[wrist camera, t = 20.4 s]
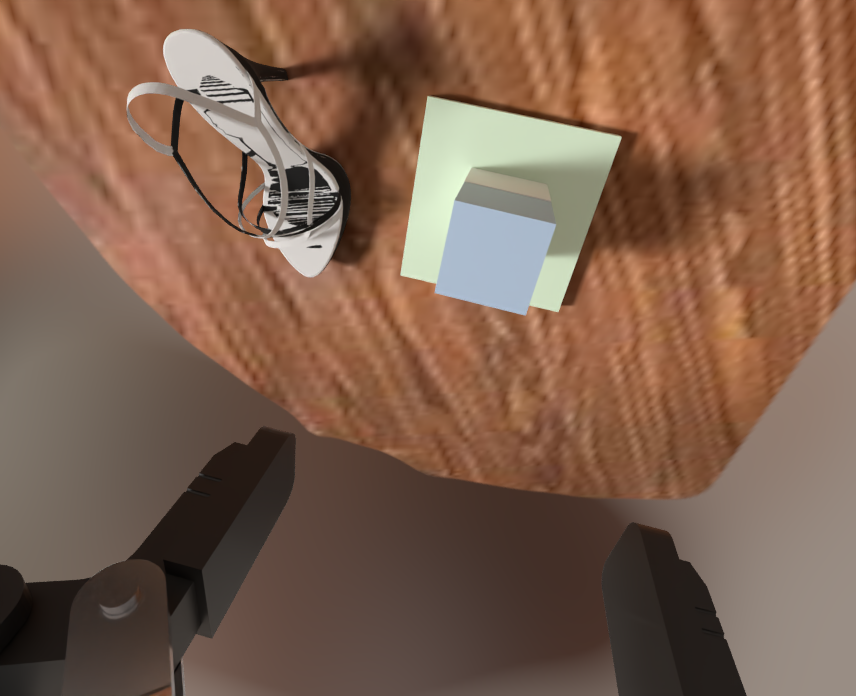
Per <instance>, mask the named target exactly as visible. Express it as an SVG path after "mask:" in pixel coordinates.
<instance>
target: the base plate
mask: <svg viewBox="0 0 856 696" xmlns="http://www.w3.org/2000/svg"><path fill="white" fill-rule="evenodd" d="M621 138H622V137H621V136H620V135H617V134H612V133H607V132H602V131H598V130H593V129H588V128H583V127H578V126H574V125H569V124H564V123H559V122H555V121H550V120H545V119H540V118H535V117H531V116H526V115H521V114H516V113H511V112H507V111H502V110H497V109H492V108H488V107H483V106H478V105H473V104H468V103H464V102H459V101H454V100H449V99H445V98H440V97H435V96H428V97H427V104H426V110H425V117H424V124H423V130H422V137H421V143H420V150H419V157H418V163H417V170H416V176H415V183H414V190H413V196H412V203H411V209H410V216H409V223H408V229H407V236H406V242H405V249H404V255H403V262H402V269H401V276H406V277H410V278H414V279H419V280H423V281H427V282H431V283H436V284H437V280H438V275H439V270H440V266H441V261H442V256H443V252H444V247H445V242H446V238H447V233H448V228H449V223H450V219H451V214H452V209H453V205H454V200H455V198H456V196H457V195H458V193H459V191H460V189H461V187H462V185H463V184H464V181H465V179H466V177H467V175H468V173H469V171H470V170H471V168H476V169H481V170H485V171H490V172H494V173H499V174H504V175H508V176H513V177H517V178H522V179H526V180H531V181H535V182H540V183H544V184H547V185H548V189H549V194H550V198H551V203H552V208H553V212H554V216H555V221H556V227H555V230H554V233H553V236H552V239H551V242H550V245H549V248H548V251H547V254H546V256H545V259H544V262H543V265H542V268H541V271H540V274H539V277H538V280H537V283H536V286H535V289H534V292H533V295H532V298H531V301H530V304H529V305H530V306H534V307H539V308H543V309H547V310H551V311H556V312H559V309H560V306H561V303H562V301H563V298H564V295H565V292H566V290H567V287H568V284H569V281H570V279H571V276H572V273H573V270H574V268H575V265H576V262H577V259H578V257H579V254H580V251H581V248H582V246H583V243H584V240H585V237H586V234H587V232H588V229H589V226H590V223H591V221H592V218H593V215H594V212H595V210H596V207H597V204H598V201H599V199H600V196H601V193H602V190H603V188H604V185H605V182H606V179H607V177H608V174H609V171H610V168H611V166H612V163H613V160H614V157H615V155H616V152H617V149H618V146H619V144H620V141H621Z"/></svg>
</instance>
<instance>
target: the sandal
mask: <svg viewBox="0 0 856 696" xmlns="http://www.w3.org/2000/svg"><path fill="white" fill-rule="evenodd" d="M163 53H164V58H165V62H166V65H167V67H168V69H169V72H170V74H171V76H172V78H173V79H174V81H175V83H176V84H177V86H178V87H176V86H172V85H169V84H164V83H156V82H149V83H143V84H140V85H137V86H136V87H134V88H133V89H132V90H131V91H130V93H129V95H128V99H127V117H128V120H129V123H130V125H131V127H132V129H133V130H134V131H135V132H136V133H137V134H138V135H139V136H140V137H141V138H142V139H143V141H144V142H145V143H147V144H148V145H149V146H151V147H152V148H153V149H155V150H156V151H157V152H160V153H163V154H166V155H168V156H173V157H174V158H175V160H176V161H177V163H178V164H179V166H180V168H181V169H182V171H183V172H184V174H185V175H186V177H187V178H188V180H189V181H190V183H191V184H192V186H193V187H194V189H195V190H196V191H197V193H198V194H199V195H200V197H201V198H202V199H203V200H204V201H205V202H206V204H207V205H208V206H209V207H210V208H211V210H212V211H213V212H215V213H216V214H217V215H218V216H219V217H220V218H222V219H223V220H224V221H225V222H226V223H227V224H229V225H230V226H232V227H233V228H235V229H236V230H238V231H240V232H242V233H245V234H248V235H250V236H252V237H256V236H258V237H256V238H263V239H264V241H265V243H266V245H267V246H269V247H273V248H279V249H280V250H281V252H282V253H283V255H284V256H285V258H286V259H287V260H288V261H289V263H290V264H291V265H292V266H293V267H294V268H295V269H296V270H297V271H299V272H300V273H301V274H303V275H304V276H306V277H315V276H317V275H319V274H320V273H321V272H322V271H323V270H324V269H325V268H326V266H327V265H328V263H329V262H330V260H331V258H332V257H333V255H334V253H335V251H336V249H337V247H338V245H339V242H340V240H341V237H342V235H343V232H344V229H345V226H346V222H347V219H348V215H349V210H350V203H351V189H350V183H349V180H348V177H347V174H346V172H345V170H344V169H343V167H342V166H341V165H340V164H339V163H338V162H337V161H336V160H334V159H333V158H331V157H329V156H327V155H325V154H321V153H318V152H314V151H312V150H310V149H308V148H307V147H305V146H304V145H302V144H301V143H300V142H299V141H298V140H297V139H296V138H295V137H294V136H293V135H292V134H291V133H290V132H289V131H288V130H287V128H286V127H285V126H284V124H283V123H282V122H281V120H280V119H279V117H278V116H277V114H276V112H275V111H274V109H273V107H272V105H271V103H270V101H269V99H268V97H267V94H266V91H265V88H264V87H263V85H262V84H261V82H264V81H284V80H288V77H287V72H286V71H285V70H284V69H283V68H277V67H271V66H267V65H262V64H259V63H256V62H253V61H251V60H248V59H246V58H245V57H243V56H242V55H240V54H239V53H238V52H236V51H235V50H234V49H232V48H230V47H229V46H227V45H225V44H223V43H222V42H220V41H219V40H218V39H216V38H215V37H213V36H211V35H209V34H208V33H205V32H203V31H200V30H194V29H180V30H177V31H174V32H172V33H171V34H169V35H168V37H167V38H166V40H165V42H164V47H163ZM147 93H156V94H164V95H168V96H172V97H176V100H175V104H174V110H173V121H172V136H171V146H166V145H164V144H161V143H159V142H157V141H155V140H154V139H153V138H152V137H150V136H149V135H148V134H147V133H146V132H145V131H144V130H143V129H142V128H141V127H140V126H139V125H138V124H137V123H136V122H135V120H134V119H133V117H132V116H131V114H130V112H129V108H128V105H129V103H130V101H131V100H132V99H133V98H135V97H137V96H139V95H142V94H147ZM184 100H185V101H187V102H189V103H190V104H191V105H192V106H193V107H194V108H195V109H196V110H197V112H198V113H199V114H200V115H201V116H202V117H203V118H204V119H205V120H206V121H207V122H208V123H209V124H211V125H212V126H213V127H214V128H215V129H216V130H217V131H218V132H220V133H221V134H222V135H223V136H224V137H226V138H227V139H228V140H229V141H231V142H232V143H233V144H234V145H236V146H237V147H238V148H240V149H241V150H242V172H241V182H240V189H239V195H238V208H239V214H238V222H239V225H240V227H241V229H242V230H241V229H240V228H238V227H236V226H235V225H233V224H232V223H231V222H229V221H228V220H227V219H226V218H225V217H223V216H222V215H221V214H220V213H219V212H218V211H217V210H216V209H215V208H214V207H213V206H212V205H211V203H210V202H209V201H208V200H207V199H206V197H205V196H204V195H203V193H202V192H201V190H200V189H199V187H198V185H197V184H196V182H195V181H194V179H193V177H192V176H191V174H190V172H189V170H188V169H187V167H186V165H185V163H184V162H183V160H182V158H181V156H180V155H179V153H178V137H179V125H180V116H181V110H182V105H183V102H184ZM247 156H250V157H251V158H252V159H253V160H254V161H256V162H257V163H258V165H259V166H260V167H261V168H262V170H263V172H264V176H265V182H264V183H263V184H261V185H260V186H259V187H258V188H257V189H256V190H254V191H253V192H252V193H251V194H250V195H249V196H248V198H247V199H246V200H245V201H244V203H243V204H242V198H243V193H244V188H245V181H246V174H247ZM262 189H264V195H263V205H262V207H261V209H260V210H259V213H258V216H257V225H258V226H256V225H254V224H252V223H250V222H249V221H248V220H247V219H246V218H245V216H244V214H243V210H244V209H245V207H246V205H247V204H248V203H249V201H250V200H251V199H252V198H253V197H254V196H255V195H256V194H258V193H259V192H260V191H261V190H262ZM263 212H264V215H265V219H266V222H267V225H268V229H266V228H261V227H259V221H260V218H261V215H262V213H263ZM242 216H243V217H244V218H245V220H246V221H248V222H249V223H250V224H251V225H252V226H254V227H255V228H257V229H259V230H261V231H262V232H263V236H262V235H256V234H253V233H249V232H247V231H245V229H244V228H243V226H242V223H241V217H242ZM269 237H273V239H274V240H275V241H268V240H266V239H267V238H269Z"/></svg>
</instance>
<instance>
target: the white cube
mask: <svg viewBox="0 0 856 696" xmlns="http://www.w3.org/2000/svg"><path fill="white" fill-rule="evenodd" d="M464 182H468V183H473V184H477V185H481V186H485V187H490V188H494V189H498V190H503V191H507V192H511V193H515V194H520V195H524V196H528V197H532V198H537V199H541V200H545V201H549V202H551V198H550V194H549V189H548V185H547V184H544V183H540V182H535V181H531V180H526V179H522V178H517V177H513V176H508V175H504V174H499V173H494V172H490V171H485V170H481V169H476V168H471V170H470V171H469V173H468V175H467V177H466V179H465V181H464Z"/></svg>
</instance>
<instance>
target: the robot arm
mask: <svg viewBox="0 0 856 696" xmlns="http://www.w3.org/2000/svg"><path fill="white" fill-rule="evenodd" d="M295 445H296V438H295V434H293V433H289V432H285V431H281V430H277V429H273V428H269V427H266V426H263V427H261V428H260V429H259V430H258V432H257V433H256V435H255V436H254V437H253V438H252V440H251V441H250V442H249V444H248V445H244V444H240V443H236V442H234V443H233V444H231V445H230V446H228V447H226V448H225V449H223V450H222V451H220V452H218V453H217V454H215V455H214V456H213V457H212V458H211V460H210V461H209V462H208V463H207V465H206V466H205V467H204V468H203V469H202V471H201V472H200V474H199V476H198V477H196V478H195V479H194V481H193V482H192V483H191V484H190V485H189V487H188V488H187V491H186V492H184V493H183V494H182V495H181V497H180V498H179V499H178V500H177V502H176V503H175V504H174V505H173V506H172V508H171V509H170V510H169V511H168V513H167V514H166V515H165V516H164V517H163V519H162V520H161V521H160V522H159V524H158V525H157V526H156V527H155V529H154V530H153V531H152V532H151V534H150V535H149V536H148V537H147V538H146V540H145V541H144V542H143V543H142V545H141V546H140V547H139V548H138V550H137V551H136V552H135V553H134V554H133V555H132V556H130V557H129V558H128V559H127V560H125V561H121V562H118V563H115V564H112V565H110V566H108V567H106V568H104V569H103V570H101V571H99V572H98V573H96V574H95V575H94V576H92V577H90V578H86V579H80V580H68V581H50V582H33V583H25V581H24V579H23V577H22V575H21V574H20V573H19V572H18V570H16V569H14V568H13V567H10V566H7V565H0V696H185V683H184V670H183V655H184V653H185V651H186V650H187V648H188V646H189V645H190V643H191V641H192V639H193V638H194V636H195V634H198V635H202V636H205V637H209V638H213V636H214V634H215V632H216V630H217V628H218V627H219V625H220V623H221V621H222V619H223V618H224V616H225V614H226V612H227V610H228V608H229V607H230V605H231V603H232V601H233V599H234V598H235V596H236V594H237V592H238V590H239V589H240V587H241V585H242V583H243V581H244V579H245V578H246V576H247V574H248V572H249V570H250V569H251V567H252V565H253V563H254V561H255V559H256V558H257V556H258V554H259V552H260V550H261V549H262V547H263V545H264V543H265V541H266V540H267V538H268V536H269V534H270V532H271V530H272V529H273V527H274V525H275V523H276V521H277V520H278V518H279V516H280V514H281V512H282V510H283V509H284V507H285V505H286V503H287V501H288V499H289V496H290V494H291V491H292V488H293V483H294V478H295ZM602 591H603V597H604V604H605V610H606V617H607V623H608V630H609V636H610V642H611V649H612V655H613V662H614V667H615V673H616V680H617V687H618V693H619V696H746V693H745V690H744V687H743V684H742V682H741V679H740V676H739V673H738V671H737V668H736V665H735V662H734V660H733V657H732V654H731V651H730V649H729V646H728V643H727V640H726V639H724V632H723V630H722V627H721V624H720V621H719V618H717V617H716V610H715V607H714V605H713V602H712V599H711V596H710V594H709V591H708V588H707V586H706V585H705V583H704V582H703V580H702V579H701V578H700V576H699V575H698V573H697V572H696V571H695V569H694V568H693V566H692V565H691V563H690V562H687V561H683V560H680V559H679V557H678V554H677V551H676V548H675V545H674V542H673V539H672V537H671V535H670V534H669V532H667V531H665V530H661V529H657V528H653V527H649V526H645V525H641V524H638V523H634V522H633V523H630V524H629V525H628V526H627V528H626V529H625V531H624V533H623V534H622V536H621V538H620V539H619V541H618V542H617V544H616V545H615V547H614V549H613V550H612V552H611V553H610V555H609V557H608V558H607V560H606V562H605V564H604V568H603V573H602Z"/></svg>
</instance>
